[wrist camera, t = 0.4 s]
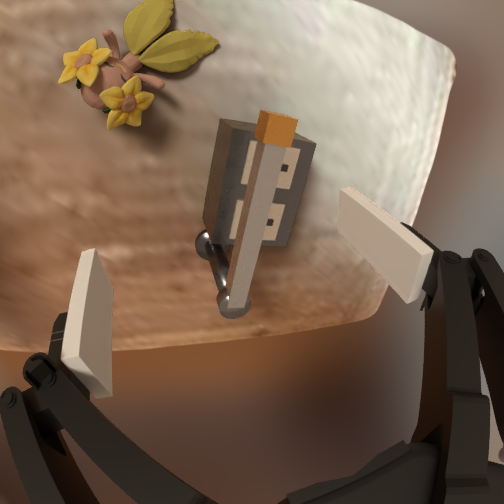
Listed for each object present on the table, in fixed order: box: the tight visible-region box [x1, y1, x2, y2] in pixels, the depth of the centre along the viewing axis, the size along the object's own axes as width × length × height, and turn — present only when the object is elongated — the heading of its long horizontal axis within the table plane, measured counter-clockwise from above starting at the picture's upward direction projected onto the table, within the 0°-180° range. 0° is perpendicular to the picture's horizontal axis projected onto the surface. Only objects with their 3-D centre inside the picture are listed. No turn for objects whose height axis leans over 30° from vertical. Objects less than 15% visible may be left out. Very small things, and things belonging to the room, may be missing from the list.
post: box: [195, 230, 230, 292], centre depth 41 cm, size 5×5×11 cm
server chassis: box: [202, 118, 316, 246], centre depth 38 cm, size 10×14×8 cm
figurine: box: [58, 0, 219, 130], centre depth 26 cm, size 12×9×15 cm
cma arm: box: [216, 110, 298, 319], centre depth 30 cm, size 4×23×2 cm, turn 167°
